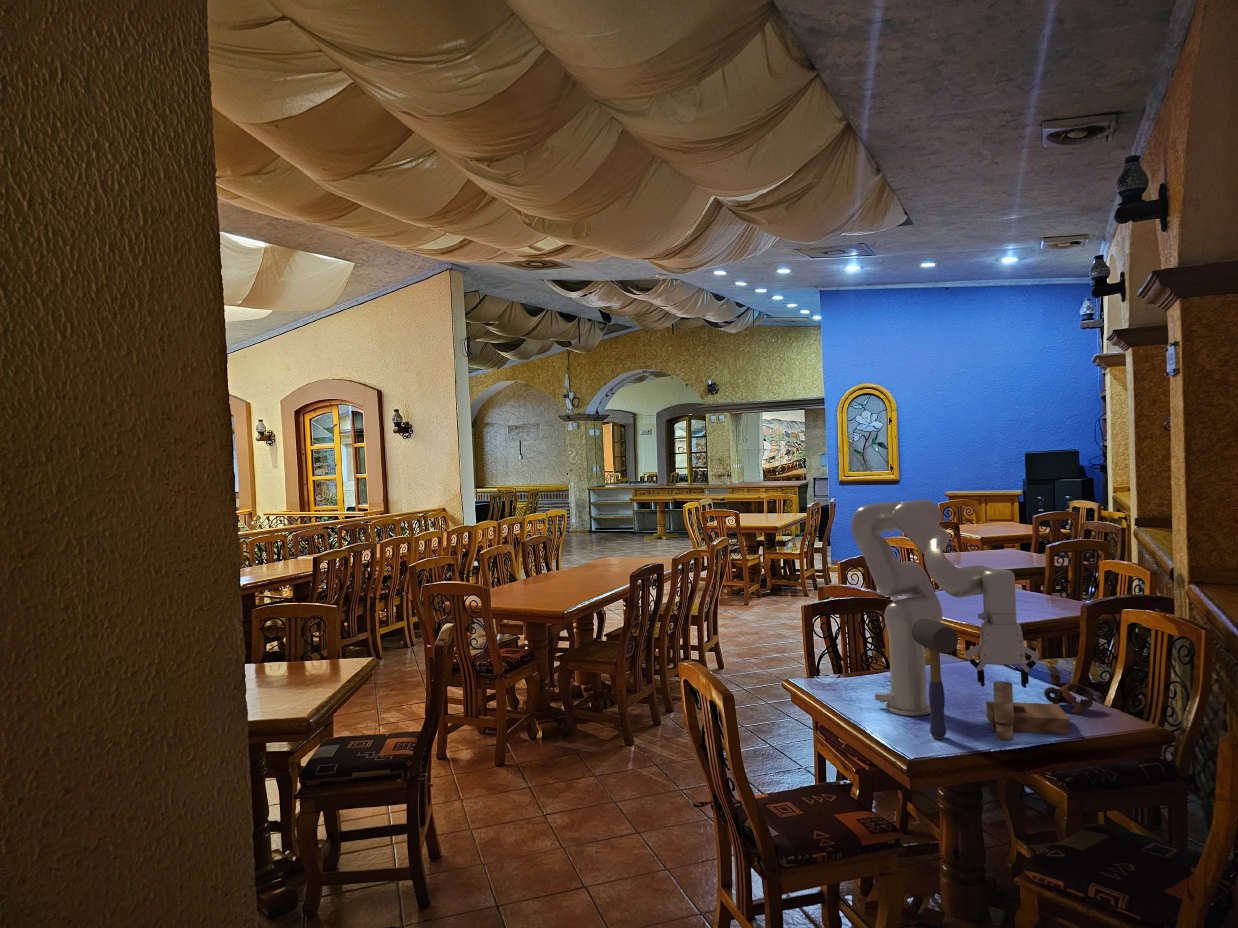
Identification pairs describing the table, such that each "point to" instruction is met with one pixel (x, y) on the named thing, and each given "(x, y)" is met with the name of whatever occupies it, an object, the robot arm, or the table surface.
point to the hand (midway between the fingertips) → (1003, 685)
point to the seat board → (1034, 718)
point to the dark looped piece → (1070, 696)
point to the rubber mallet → (935, 666)
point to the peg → (1003, 710)
